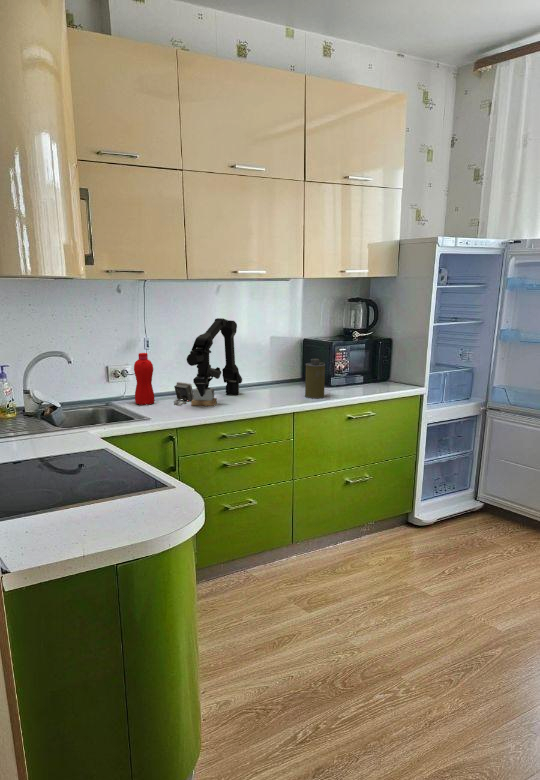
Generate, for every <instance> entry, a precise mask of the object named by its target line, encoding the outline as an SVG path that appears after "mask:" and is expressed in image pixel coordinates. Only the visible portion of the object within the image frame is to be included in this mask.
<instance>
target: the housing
mask: <svg viewBox="0 0 540 780" xmlns="http://www.w3.org/2000/svg"><path fill="white" fill-rule="evenodd" d="M193 394H194V400H195V401H212V400H213V399H214V398H215V388H214V387H208V388H204V395H203V397H201V396H200V393H199V391H198V389H197V387H195V389H193Z"/></svg>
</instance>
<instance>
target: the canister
mask: <svg viewBox="0 0 540 780" xmlns="http://www.w3.org/2000/svg"><path fill="white" fill-rule="evenodd" d="M325 377H326V363H325V362H321V361H320V359H319V358H311V359H310V362H307V363H305V381H304V383H305V384H304V385H305V389H304V391H305V392H304V397H305V398H307V399H324V398H325V381H326V378H325Z"/></svg>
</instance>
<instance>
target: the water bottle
mask: <svg viewBox="0 0 540 780" xmlns="http://www.w3.org/2000/svg"><path fill="white" fill-rule="evenodd" d="M148 356H149V355H148V353H146V352H139V353H138V359H137V360H136V361H135V362H134V364H133V371H134V375H135V379H136V386H135V390H134V391H135V392H134V401H135V404H136V405H138V404H139V405H138V406H143V405H146V404H147V405H153V404H154V403H155V393H154V387H153V384H152V381H153V375H154V364H153V363H152V361H151V360H150V359H149V358H148Z"/></svg>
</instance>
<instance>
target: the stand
mask: <svg viewBox="0 0 540 780" xmlns="http://www.w3.org/2000/svg"><path fill="white" fill-rule="evenodd" d="M217 400H218V398H217V397H214V399H213V400H212V401H195V400H194V399H193V400H190V403H191V404H190V405H191V407H208V406H214V405H215V404H216V405H217V402H218V401H217ZM216 405H215V406H216ZM215 406H214V407H215Z"/></svg>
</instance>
